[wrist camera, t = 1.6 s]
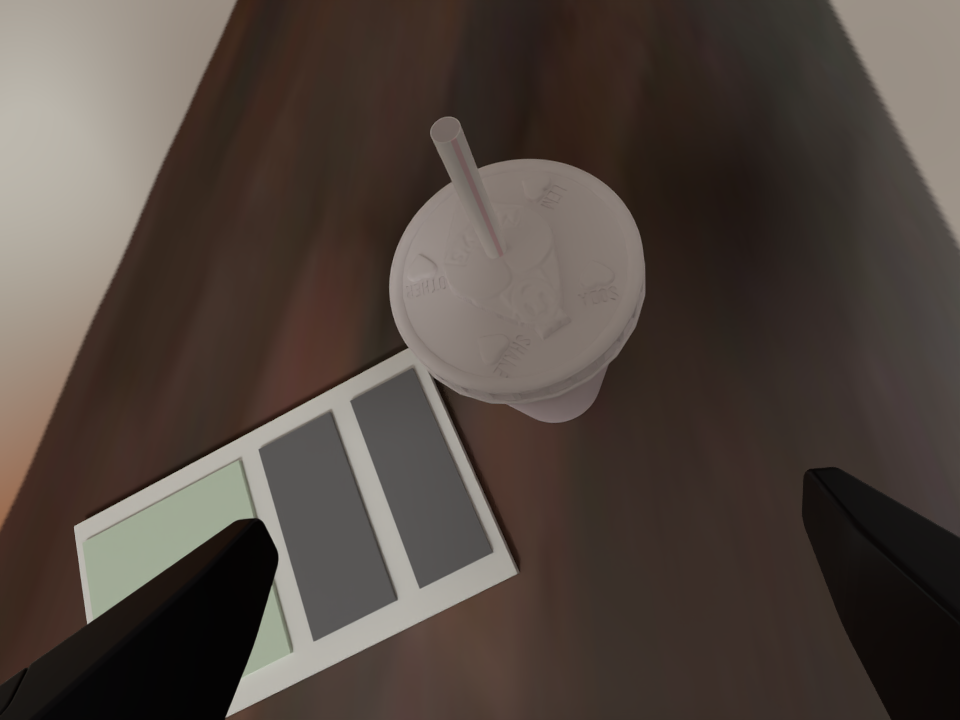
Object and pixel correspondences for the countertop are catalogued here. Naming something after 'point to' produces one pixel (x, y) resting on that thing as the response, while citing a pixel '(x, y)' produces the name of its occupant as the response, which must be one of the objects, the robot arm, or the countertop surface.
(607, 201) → the smoothie
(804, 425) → the countertop surface
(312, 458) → the board
